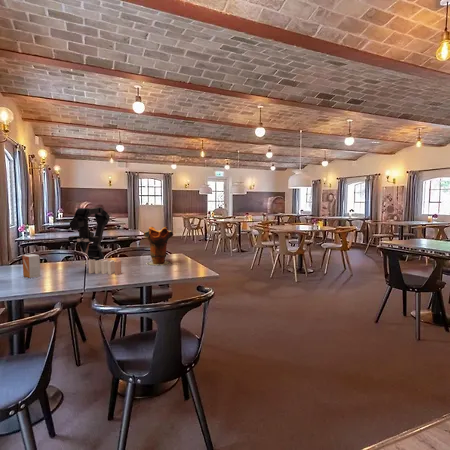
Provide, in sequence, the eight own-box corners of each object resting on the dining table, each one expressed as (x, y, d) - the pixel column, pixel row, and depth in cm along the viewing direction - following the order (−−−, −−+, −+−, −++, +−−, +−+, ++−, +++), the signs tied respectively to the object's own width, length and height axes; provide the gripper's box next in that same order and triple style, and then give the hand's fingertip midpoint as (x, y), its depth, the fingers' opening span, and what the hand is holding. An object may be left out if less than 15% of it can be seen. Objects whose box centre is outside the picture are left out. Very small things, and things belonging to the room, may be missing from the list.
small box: (23, 276, 193) (22, 255, 192) (34, 274, 198) (33, 253, 197) (29, 278, 188) (28, 256, 187) (40, 276, 194) (39, 255, 193)
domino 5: (119, 272, 203) (118, 260, 202) (121, 272, 202) (121, 260, 202) (114, 274, 198) (114, 261, 197) (117, 274, 197) (116, 262, 197)
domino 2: (99, 271, 205) (99, 259, 204) (102, 272, 205) (101, 259, 204) (95, 273, 200) (94, 261, 200) (97, 273, 200) (97, 261, 199)
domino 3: (106, 272, 204) (105, 259, 204) (108, 272, 204) (108, 260, 203) (101, 274, 199) (101, 261, 199) (104, 274, 199) (103, 261, 198)
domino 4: (112, 272, 203) (112, 260, 203) (114, 272, 203) (114, 260, 203) (108, 274, 199) (107, 261, 198) (110, 274, 198) (110, 261, 198)
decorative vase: (170, 258, 248) (169, 223, 245) (175, 266, 227) (174, 227, 223) (142, 260, 242) (141, 224, 238) (145, 268, 220) (144, 228, 216)
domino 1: (93, 271, 206) (93, 259, 205) (95, 271, 206) (95, 259, 205) (88, 273, 201) (88, 260, 200) (91, 273, 201) (90, 261, 200)
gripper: (104, 227, 208) (104, 250, 210) (78, 226, 212) (79, 249, 213) (94, 228, 197) (95, 253, 199) (67, 228, 201) (68, 252, 202)
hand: (84, 252), depth 203 cm, fingers closed
